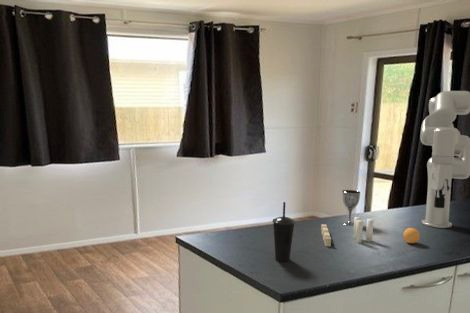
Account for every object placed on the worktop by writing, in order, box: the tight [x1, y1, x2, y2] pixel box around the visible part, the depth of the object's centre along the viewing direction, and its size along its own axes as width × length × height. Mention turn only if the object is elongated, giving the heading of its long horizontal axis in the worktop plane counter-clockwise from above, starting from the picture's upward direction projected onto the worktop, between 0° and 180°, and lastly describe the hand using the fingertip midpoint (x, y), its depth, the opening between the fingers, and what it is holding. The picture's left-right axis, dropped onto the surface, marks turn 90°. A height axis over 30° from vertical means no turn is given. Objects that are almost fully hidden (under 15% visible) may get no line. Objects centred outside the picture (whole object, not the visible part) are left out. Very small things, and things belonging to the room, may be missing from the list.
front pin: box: [365, 218, 374, 243], centre depth 166 cm, size 2×2×8 cm
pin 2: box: [354, 220, 364, 244], centre depth 164 cm, size 2×2×8 cm
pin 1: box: [352, 216, 362, 240], centre depth 169 cm, size 2×2×8 cm
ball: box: [402, 227, 421, 245], centre depth 164 cm, size 6×6×6 cm
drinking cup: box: [272, 201, 296, 263], centre depth 143 cm, size 8×8×20 cm
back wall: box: [320, 223, 332, 247], centre depth 168 cm, size 20×2×3 cm, turn 173°
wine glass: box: [341, 189, 361, 227], centre depth 191 cm, size 8×8×15 cm
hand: (439, 207), depth 161 cm, fingers closed
